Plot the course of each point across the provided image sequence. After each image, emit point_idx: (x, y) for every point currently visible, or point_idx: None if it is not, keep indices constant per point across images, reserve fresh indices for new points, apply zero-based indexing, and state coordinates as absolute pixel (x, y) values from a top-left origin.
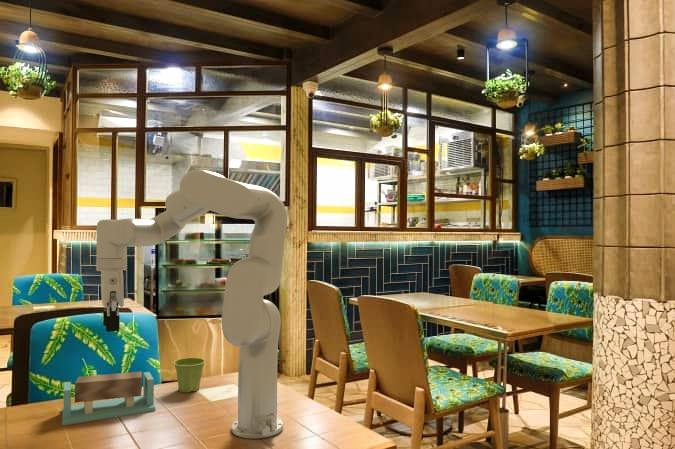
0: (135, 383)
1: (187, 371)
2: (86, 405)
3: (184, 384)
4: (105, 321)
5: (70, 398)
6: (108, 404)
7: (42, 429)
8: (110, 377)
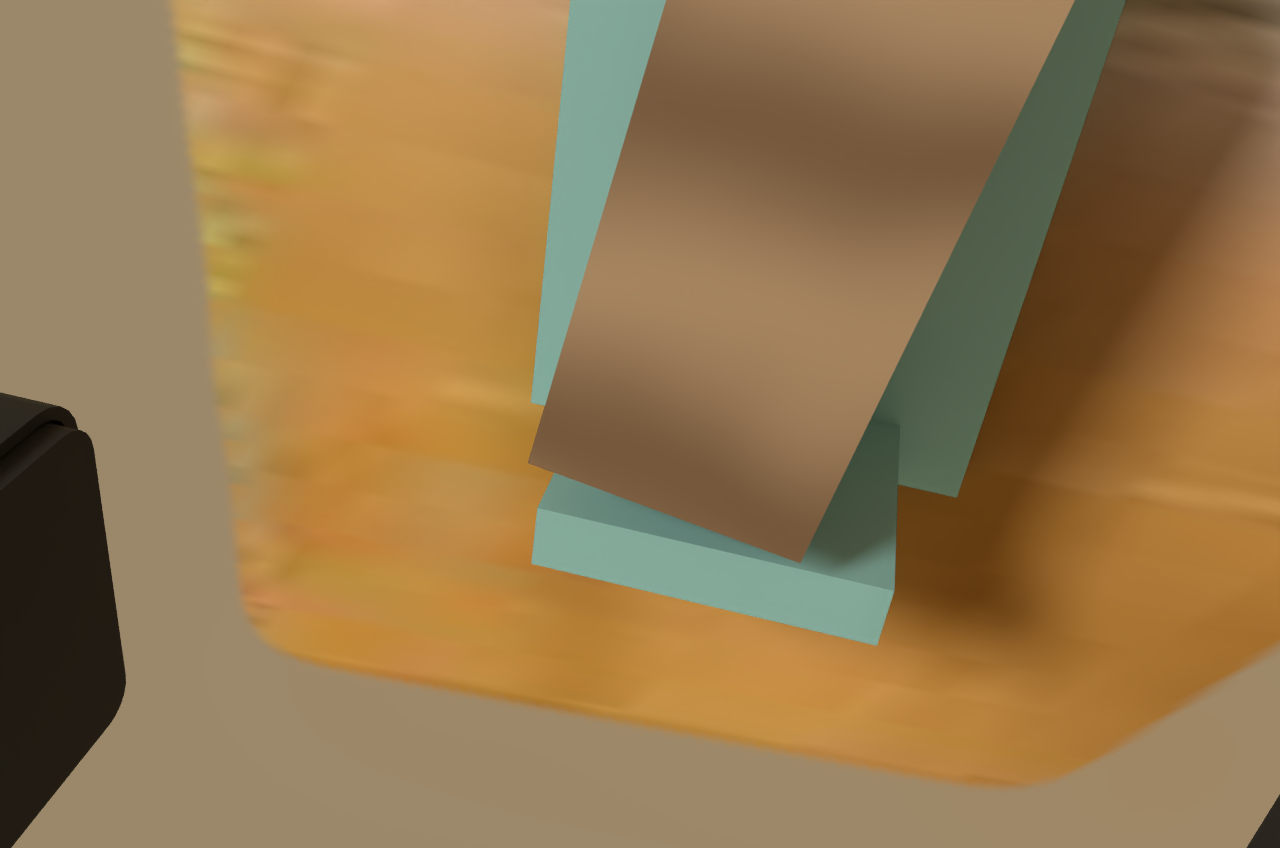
0: None
1: None
2: None
3: None
4: (43, 757)
5: (894, 535)
6: None
7: (929, 595)
8: (829, 159)
